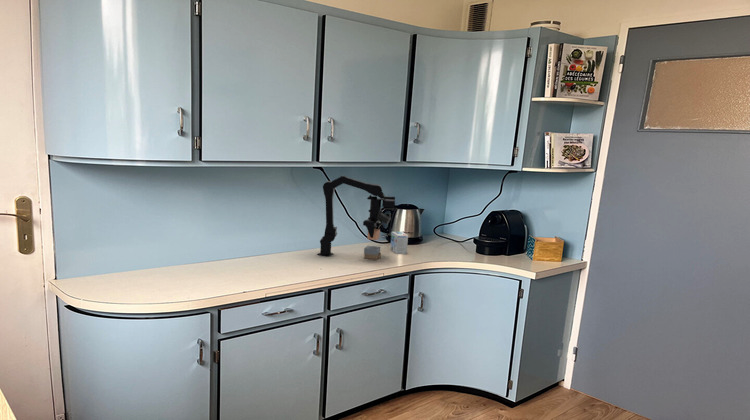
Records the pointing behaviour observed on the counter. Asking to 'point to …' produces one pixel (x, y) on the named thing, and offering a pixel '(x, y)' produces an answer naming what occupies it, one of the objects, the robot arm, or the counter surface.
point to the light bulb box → (399, 242)
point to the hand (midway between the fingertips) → (373, 236)
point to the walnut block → (372, 256)
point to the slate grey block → (372, 250)
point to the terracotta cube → (375, 236)
